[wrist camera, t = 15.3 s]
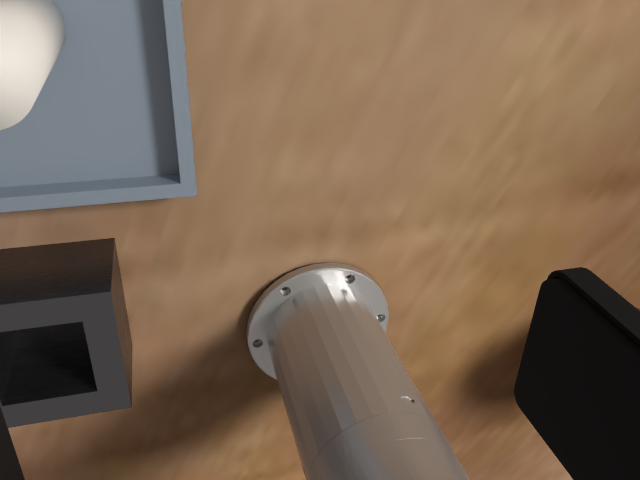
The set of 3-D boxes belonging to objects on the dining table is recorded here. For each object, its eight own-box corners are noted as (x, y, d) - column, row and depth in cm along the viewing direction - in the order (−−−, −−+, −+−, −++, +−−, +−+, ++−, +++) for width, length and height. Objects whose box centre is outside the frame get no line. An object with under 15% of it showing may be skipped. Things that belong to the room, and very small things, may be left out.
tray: (194, 181, 42) (196, 195, 40) (-90, 203, 38) (-103, 221, 36) (161, -197, 31) (163, -204, 29) (-241, -226, 27) (-272, -237, 25)
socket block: (132, 345, 48) (131, 407, 42) (-3, 364, 45) (-24, 433, 39) (114, 238, 43) (110, 291, 37) (-38, 253, 40) (-68, 313, 34)
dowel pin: (72, 64, 36) (47, 128, 26) (-9, 66, 35) (-69, 134, 25) (57, -17, 33) (24, 19, 23) (-30, -16, 32) (-105, 21, 22)
